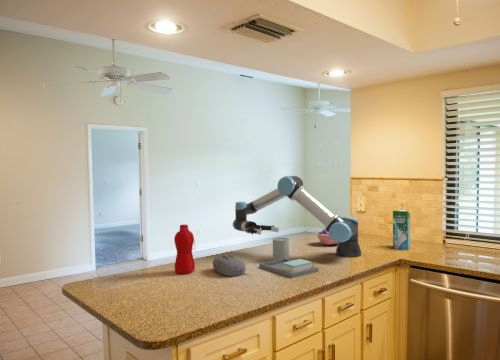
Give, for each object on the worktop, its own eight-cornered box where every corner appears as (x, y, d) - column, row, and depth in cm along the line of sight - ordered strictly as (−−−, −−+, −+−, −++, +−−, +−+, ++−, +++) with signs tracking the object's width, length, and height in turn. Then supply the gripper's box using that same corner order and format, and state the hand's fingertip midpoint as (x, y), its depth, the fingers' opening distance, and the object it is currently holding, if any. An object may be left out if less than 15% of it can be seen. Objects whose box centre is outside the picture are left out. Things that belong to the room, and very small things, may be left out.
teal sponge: (282, 272, 191) (282, 262, 191) (300, 268, 198) (300, 258, 198) (293, 276, 184) (293, 265, 184) (312, 271, 192) (311, 261, 191)
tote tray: (259, 269, 203) (259, 263, 202) (285, 263, 213) (284, 258, 213) (291, 279, 181) (291, 273, 181) (318, 273, 192) (318, 267, 192)
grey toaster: (209, 270, 203) (224, 279, 185) (208, 254, 203) (224, 262, 185) (234, 266, 210) (251, 274, 192) (234, 251, 210) (251, 258, 192)
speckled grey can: (278, 262, 216) (278, 241, 215) (269, 259, 224) (269, 238, 224) (292, 260, 220) (292, 239, 220) (283, 257, 229) (283, 237, 228)
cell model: (347, 247, 256) (347, 230, 255) (318, 247, 256) (317, 230, 256) (342, 242, 272) (341, 226, 272) (314, 242, 273) (313, 227, 272)
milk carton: (410, 247, 251) (410, 209, 250) (407, 249, 243) (407, 211, 243) (395, 246, 256) (395, 209, 255) (393, 248, 248) (392, 210, 247)
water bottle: (191, 275, 192) (190, 226, 192) (172, 273, 196) (171, 225, 195) (199, 270, 201) (198, 223, 200) (181, 269, 205) (180, 223, 204)
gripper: (264, 230, 254) (285, 235, 237) (233, 234, 240) (253, 239, 223) (264, 219, 254) (285, 223, 237) (233, 222, 240) (252, 227, 223)
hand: (269, 231), depth 230 cm, fingers open, 13 cm apart
